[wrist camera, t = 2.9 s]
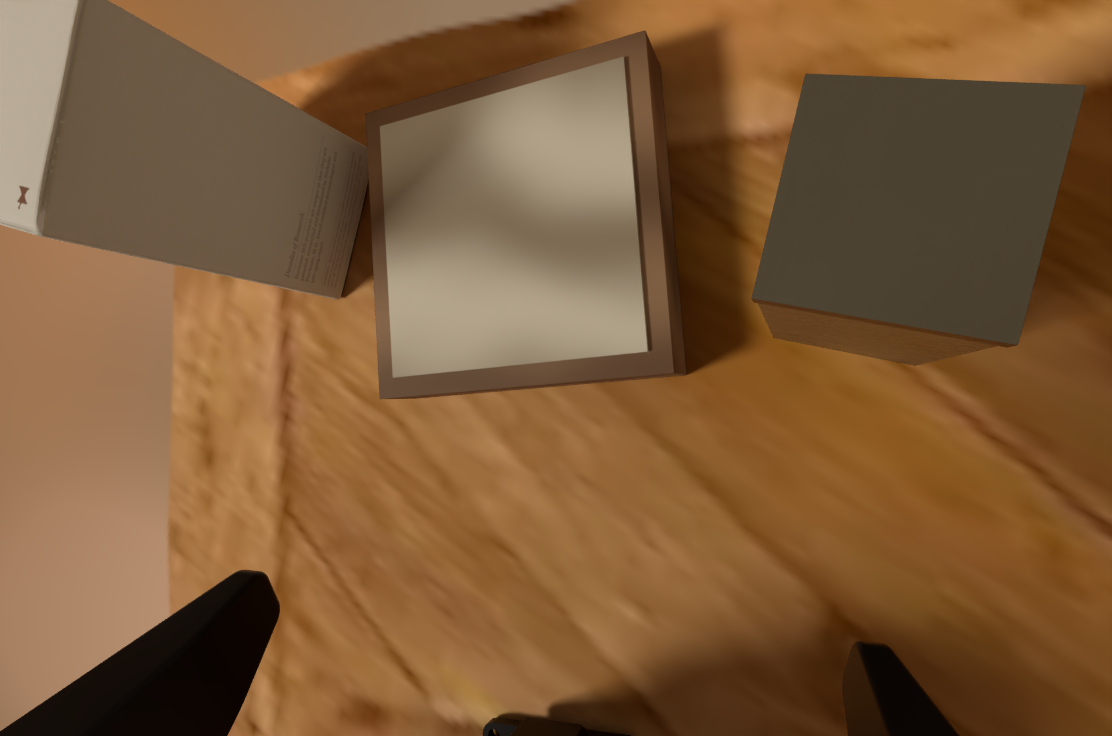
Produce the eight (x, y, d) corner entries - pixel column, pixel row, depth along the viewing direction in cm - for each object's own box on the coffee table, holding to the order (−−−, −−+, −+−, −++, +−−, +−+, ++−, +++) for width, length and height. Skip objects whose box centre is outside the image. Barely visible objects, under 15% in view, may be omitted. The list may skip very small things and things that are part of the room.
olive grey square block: (916, 367, 20) (1017, 345, 11) (771, 339, 22) (752, 298, 12) (951, 229, 20) (1085, 85, 11) (802, 211, 22) (805, 73, 12)
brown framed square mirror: (686, 374, 23) (673, 372, 20) (415, 398, 27) (377, 398, 25) (660, 66, 24) (644, 27, 21) (401, 137, 28) (363, 112, 26)
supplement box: (379, 149, 28) (86, -22, 17) (343, 304, 29) (31, 243, 17) (265, 131, 31) (-57, -27, 19) (233, 272, 32) (-100, 202, 20)
